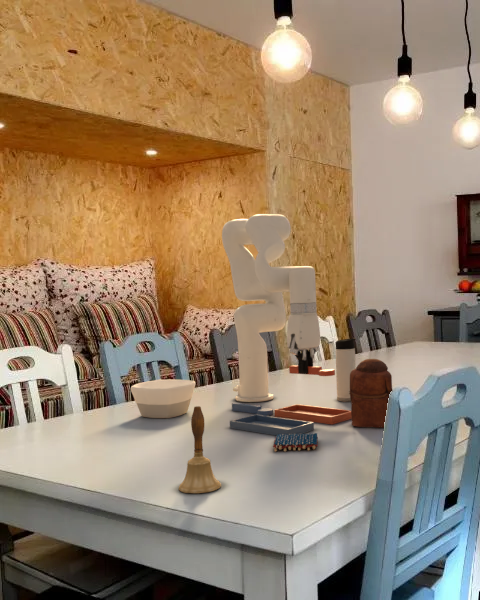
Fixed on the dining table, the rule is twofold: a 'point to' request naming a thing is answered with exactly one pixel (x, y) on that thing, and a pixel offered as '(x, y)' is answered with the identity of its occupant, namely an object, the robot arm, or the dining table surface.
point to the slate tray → (271, 425)
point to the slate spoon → (252, 409)
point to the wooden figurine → (370, 393)
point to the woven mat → (295, 441)
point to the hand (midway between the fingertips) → (305, 372)
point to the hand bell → (198, 462)
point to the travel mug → (344, 367)
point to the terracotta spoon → (313, 370)
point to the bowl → (163, 397)
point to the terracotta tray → (313, 414)
